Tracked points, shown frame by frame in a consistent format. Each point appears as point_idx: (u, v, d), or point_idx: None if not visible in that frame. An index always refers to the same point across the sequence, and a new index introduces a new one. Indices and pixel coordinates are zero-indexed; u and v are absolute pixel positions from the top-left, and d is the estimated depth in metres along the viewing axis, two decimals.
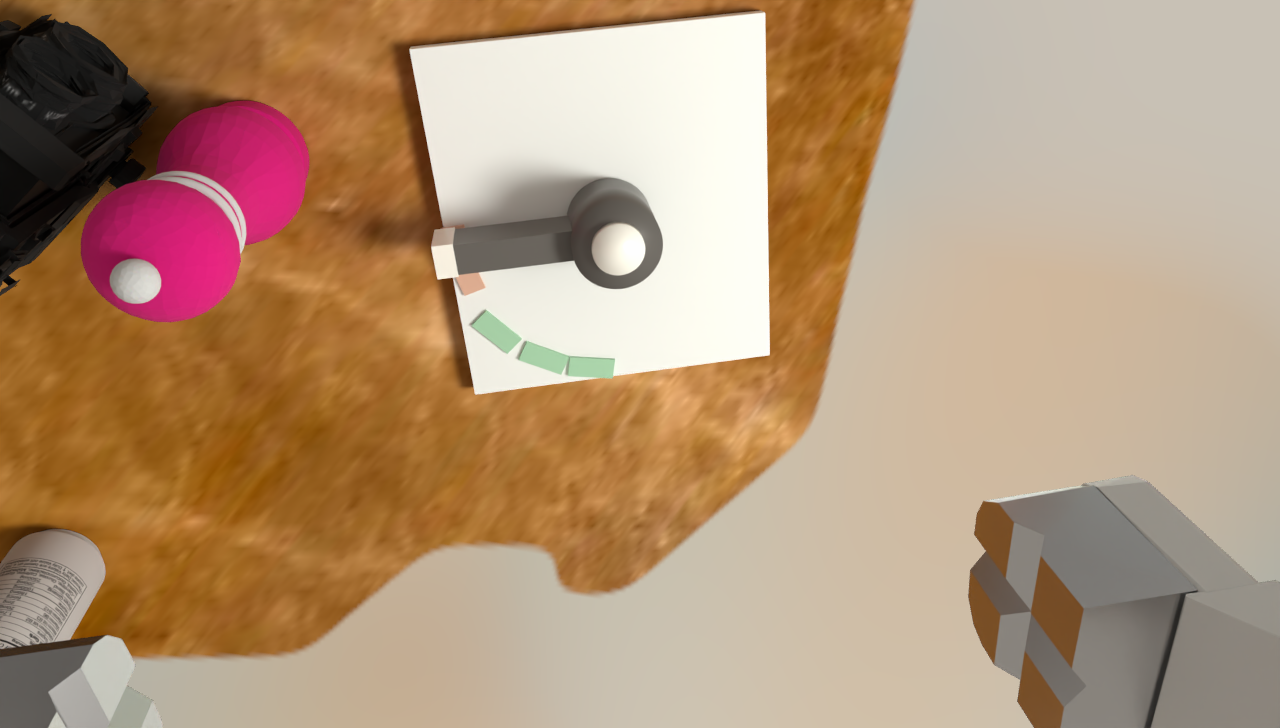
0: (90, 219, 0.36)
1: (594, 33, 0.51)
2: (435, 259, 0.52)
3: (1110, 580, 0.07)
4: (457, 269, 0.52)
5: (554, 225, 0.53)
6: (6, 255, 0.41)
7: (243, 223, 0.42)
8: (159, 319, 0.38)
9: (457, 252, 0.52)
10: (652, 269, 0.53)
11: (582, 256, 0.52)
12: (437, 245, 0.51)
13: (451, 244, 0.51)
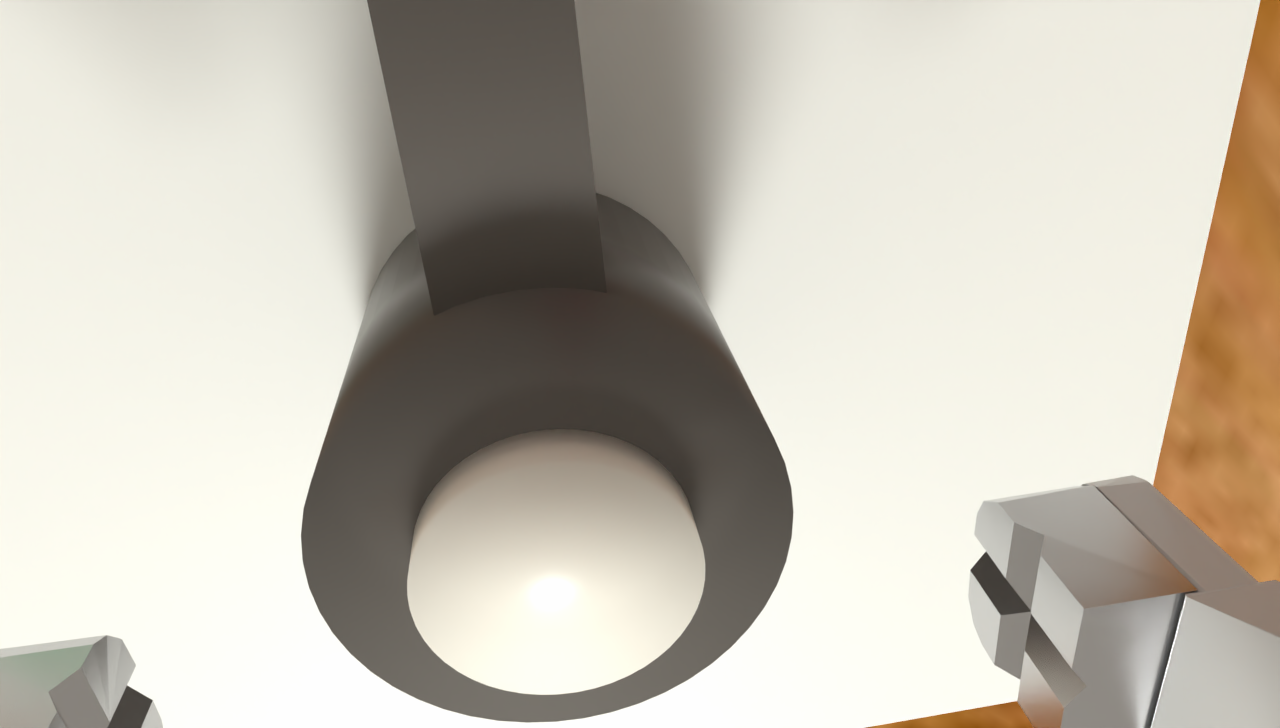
0: None
1: (1192, 267, 0.15)
2: None
3: (1110, 580, 0.07)
4: None
5: None
6: None
7: None
8: None
9: None
10: (435, 698, 0.10)
11: (496, 387, 0.09)
12: None
13: None
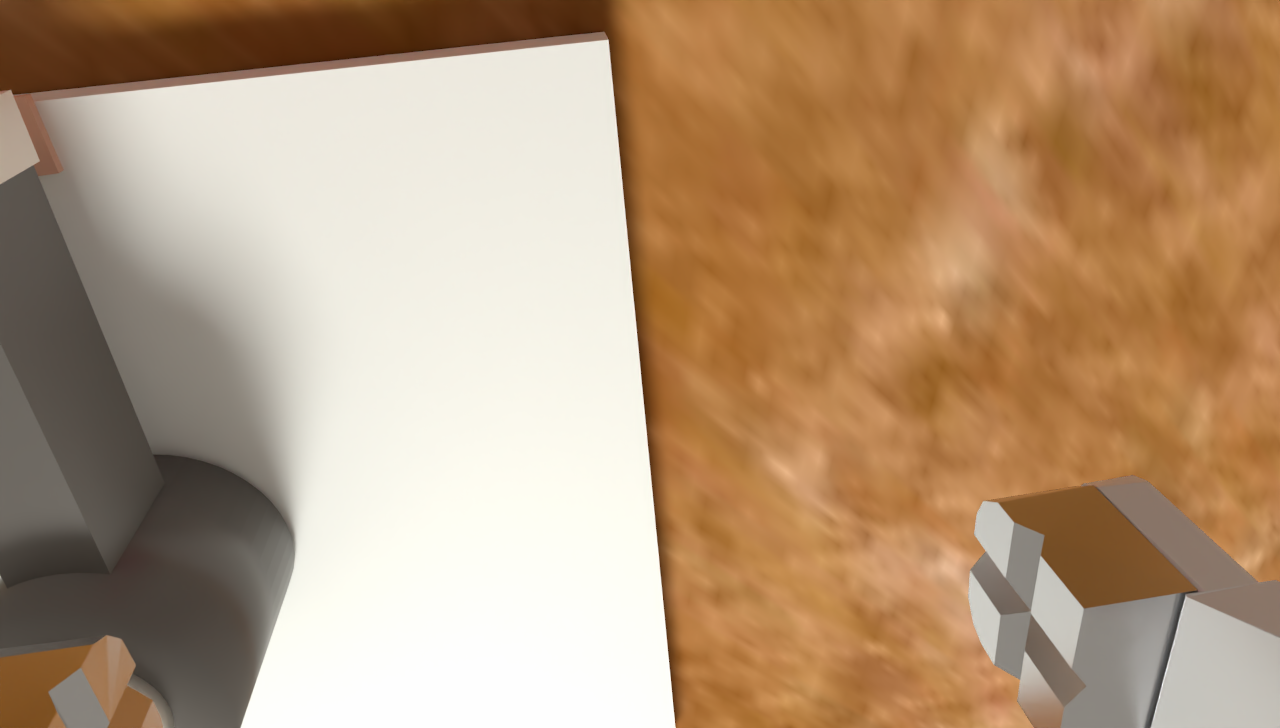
0: None
1: (644, 489, 0.22)
2: None
3: (1110, 580, 0.07)
4: None
5: (120, 488, 0.17)
6: None
7: None
8: None
9: None
10: None
11: (22, 640, 0.16)
12: None
13: None
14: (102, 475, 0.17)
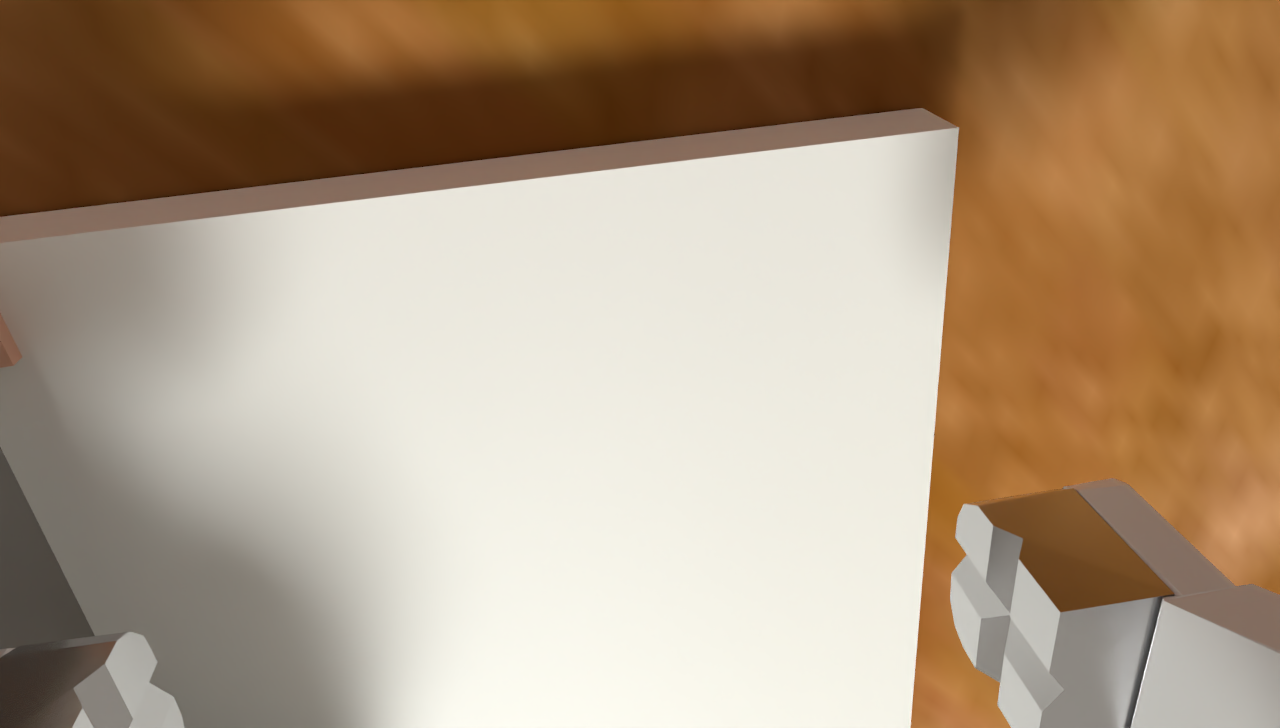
0: None
1: None
2: None
3: (1088, 584, 0.07)
4: None
5: None
6: None
7: None
8: None
9: None
10: None
11: None
12: None
13: None
14: None
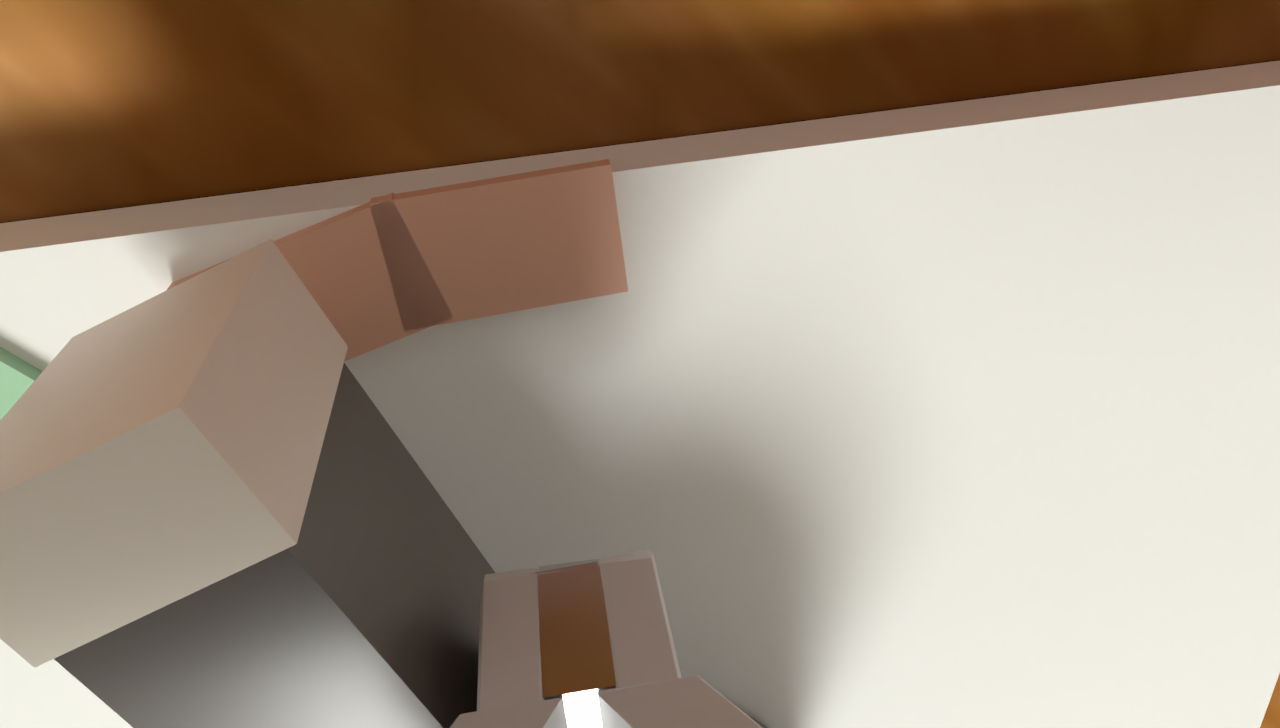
0: None
1: (1265, 687, 0.15)
2: (77, 474, 0.06)
3: (537, 673, 0.07)
4: (95, 636, 0.06)
5: None
6: None
7: None
8: None
9: (243, 592, 0.06)
10: None
11: None
12: (221, 442, 0.06)
13: (288, 533, 0.06)
14: None
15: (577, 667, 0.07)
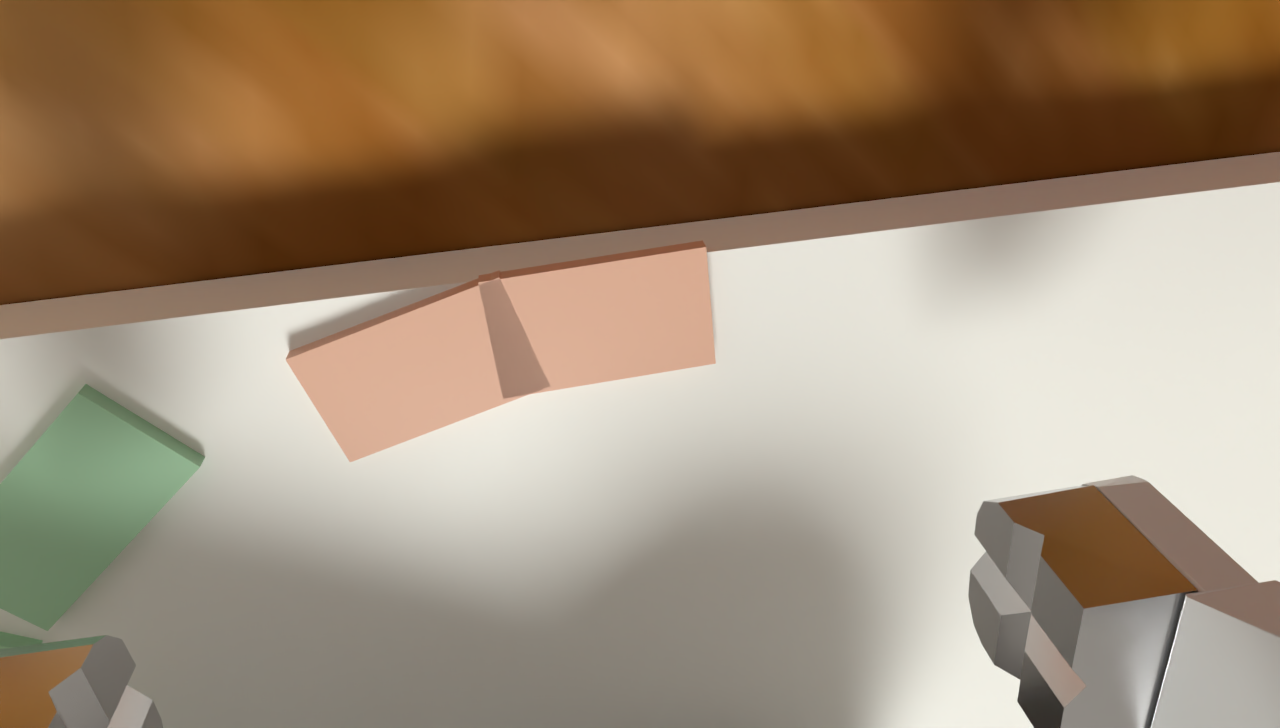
0: None
1: None
2: None
3: (1110, 580, 0.07)
4: None
5: None
6: None
7: None
8: None
9: None
10: None
11: None
12: None
13: None
14: None
15: None
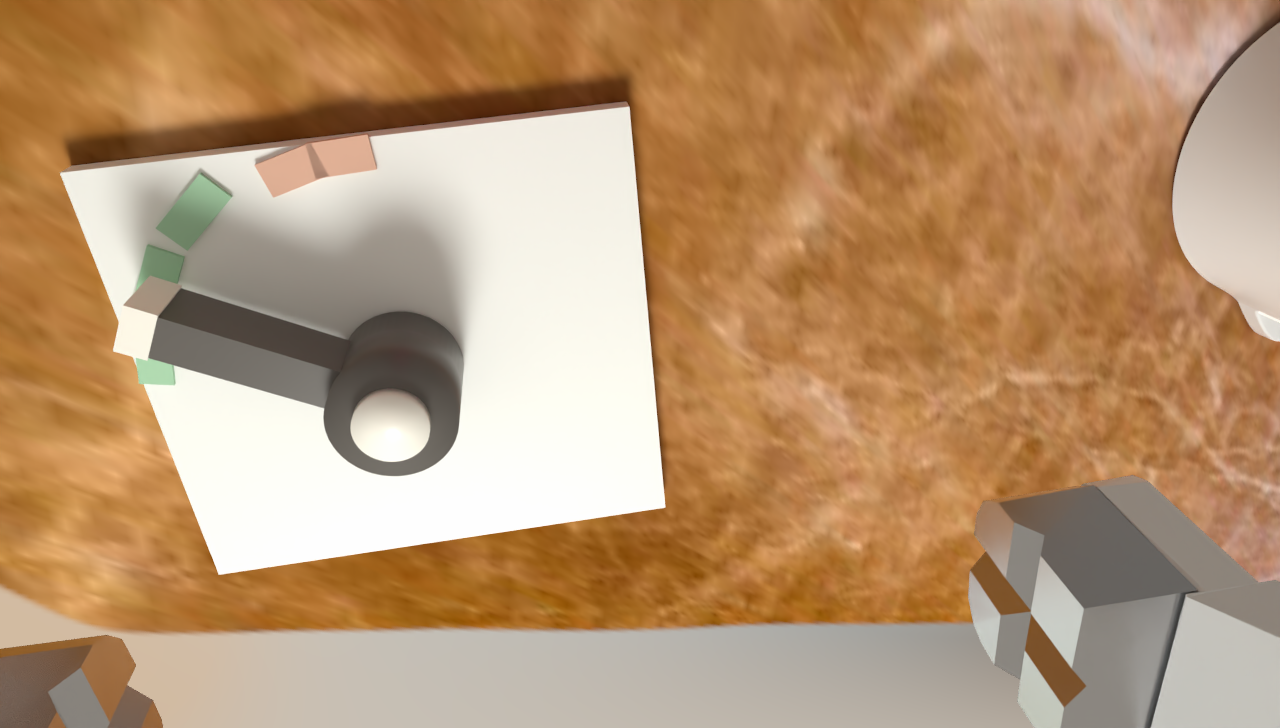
0: None
1: (646, 335, 0.41)
2: (122, 324, 0.34)
3: (1110, 580, 0.07)
4: (150, 350, 0.34)
5: (322, 349, 0.37)
6: None
7: None
8: None
9: (160, 329, 0.34)
10: (425, 467, 0.37)
11: (337, 413, 0.35)
12: (134, 307, 0.34)
13: (156, 315, 0.34)
14: (306, 349, 0.36)
15: None
